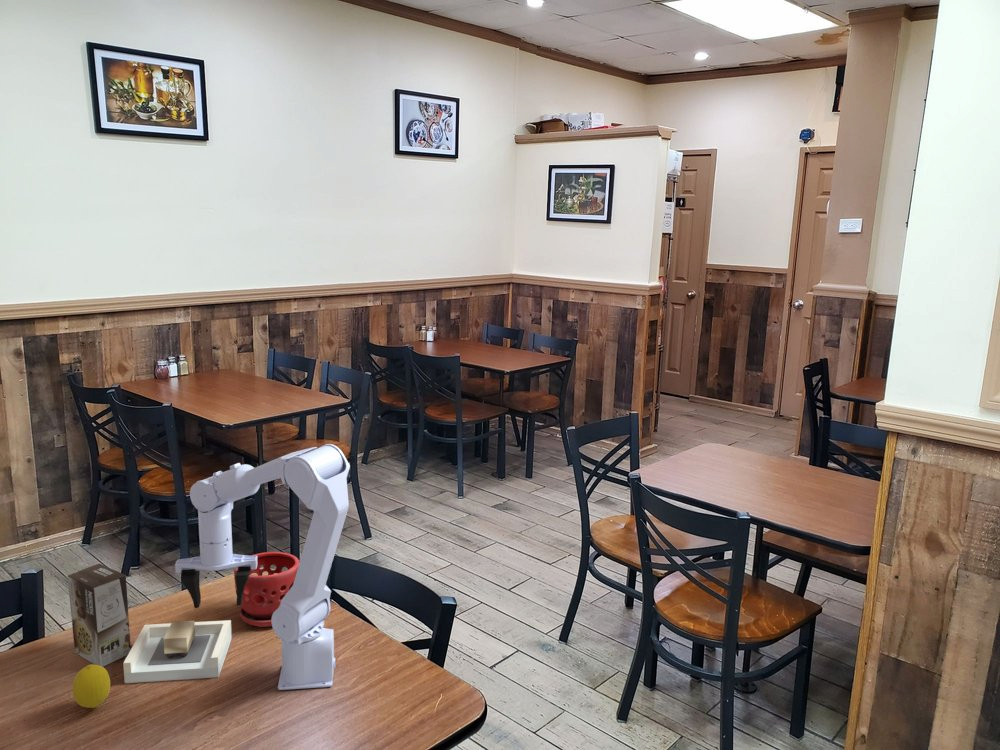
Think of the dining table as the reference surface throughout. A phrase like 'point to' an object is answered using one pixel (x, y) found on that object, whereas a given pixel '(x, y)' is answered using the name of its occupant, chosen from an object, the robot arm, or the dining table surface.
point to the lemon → (91, 686)
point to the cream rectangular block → (179, 638)
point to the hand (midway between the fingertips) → (218, 604)
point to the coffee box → (99, 614)
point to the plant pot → (267, 587)
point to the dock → (178, 654)
